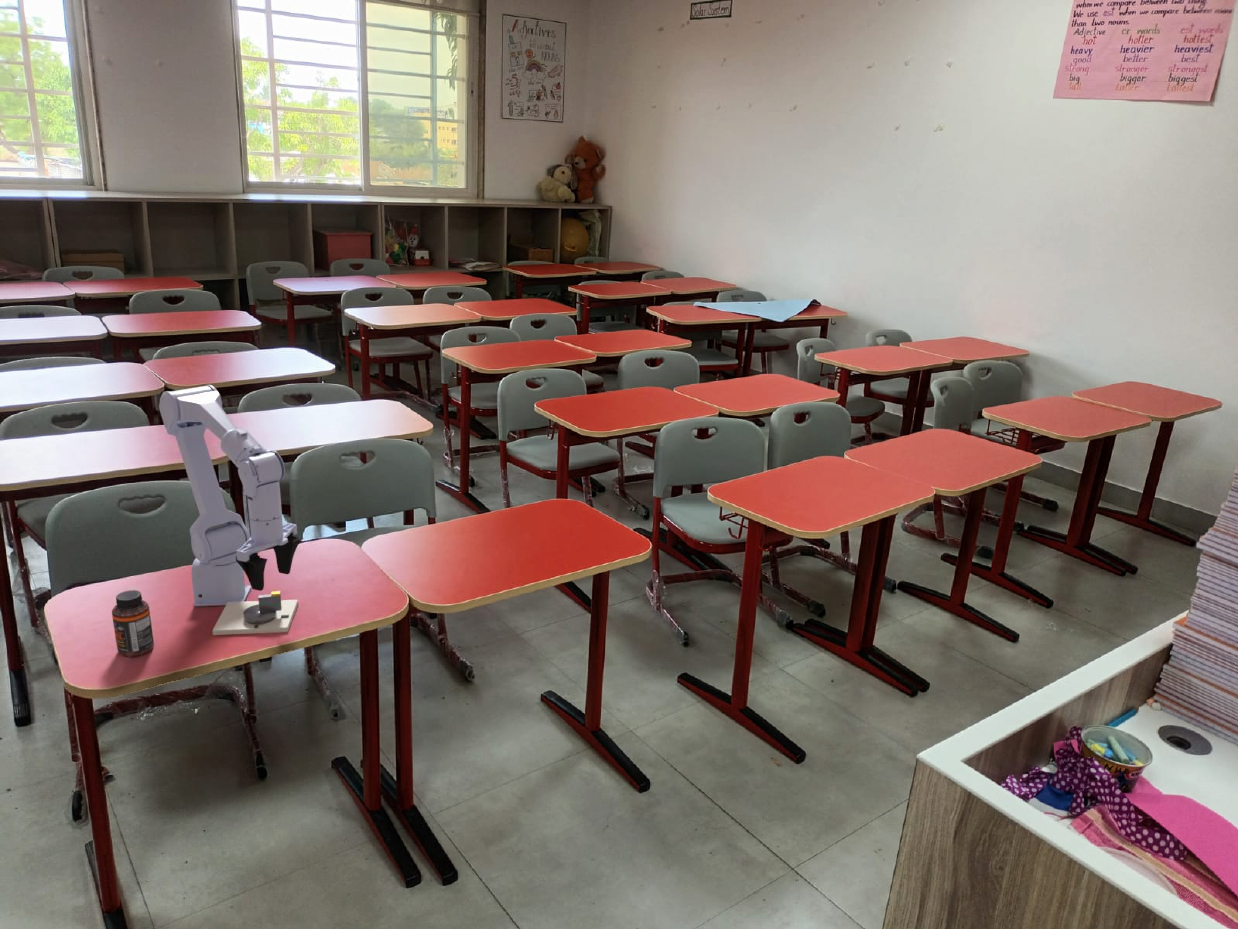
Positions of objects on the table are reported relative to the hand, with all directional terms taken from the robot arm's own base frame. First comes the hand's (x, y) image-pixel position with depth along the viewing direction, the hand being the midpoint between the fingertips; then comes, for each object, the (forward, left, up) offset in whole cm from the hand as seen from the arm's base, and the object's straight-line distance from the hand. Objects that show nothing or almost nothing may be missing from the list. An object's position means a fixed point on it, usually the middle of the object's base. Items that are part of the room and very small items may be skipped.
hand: (271, 581), depth 167 cm
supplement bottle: (-23, -7, -10) cm, 26 cm away
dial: (-3, +2, -8) cm, 9 cm away
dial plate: (-4, +3, -10) cm, 11 cm away
